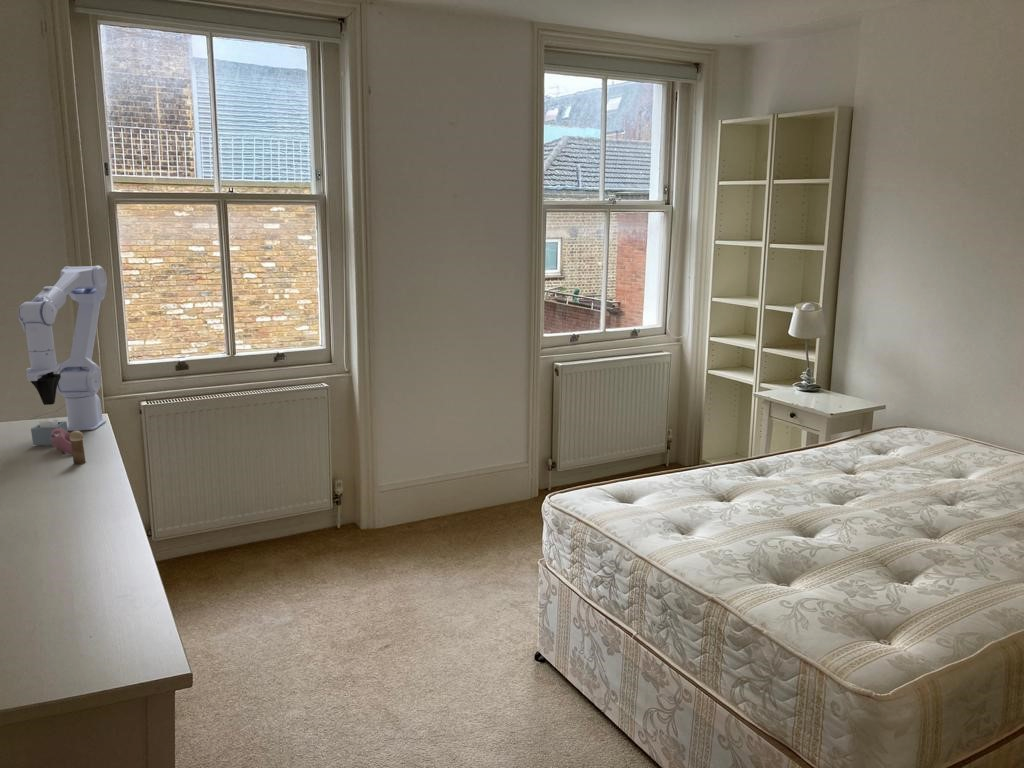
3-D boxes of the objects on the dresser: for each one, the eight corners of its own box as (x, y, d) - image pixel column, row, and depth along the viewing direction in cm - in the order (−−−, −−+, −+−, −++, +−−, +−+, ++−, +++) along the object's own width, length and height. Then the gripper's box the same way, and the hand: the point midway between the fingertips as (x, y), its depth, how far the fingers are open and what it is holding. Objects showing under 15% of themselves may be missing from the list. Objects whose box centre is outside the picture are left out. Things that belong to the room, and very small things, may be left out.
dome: (45, 433, 209) (43, 418, 208) (62, 432, 209) (59, 417, 208) (38, 437, 205) (36, 421, 204) (55, 436, 205) (53, 421, 204)
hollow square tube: (43, 439, 210) (41, 422, 209) (68, 438, 211) (66, 421, 210) (33, 446, 204) (30, 428, 203) (58, 444, 205) (56, 427, 204)
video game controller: (65, 452, 204) (47, 429, 201) (82, 442, 205) (65, 419, 202) (62, 463, 195) (44, 439, 192) (81, 452, 196) (62, 428, 194)
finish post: (75, 461, 190) (71, 429, 189) (88, 460, 190) (84, 428, 189) (70, 465, 187) (66, 432, 186) (83, 464, 188) (79, 432, 186)
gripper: (38, 346, 209) (45, 398, 212) (10, 355, 195) (18, 411, 198) (67, 345, 210) (74, 397, 213) (41, 354, 196) (49, 410, 199)
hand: (49, 404), depth 205 cm, fingers closed
